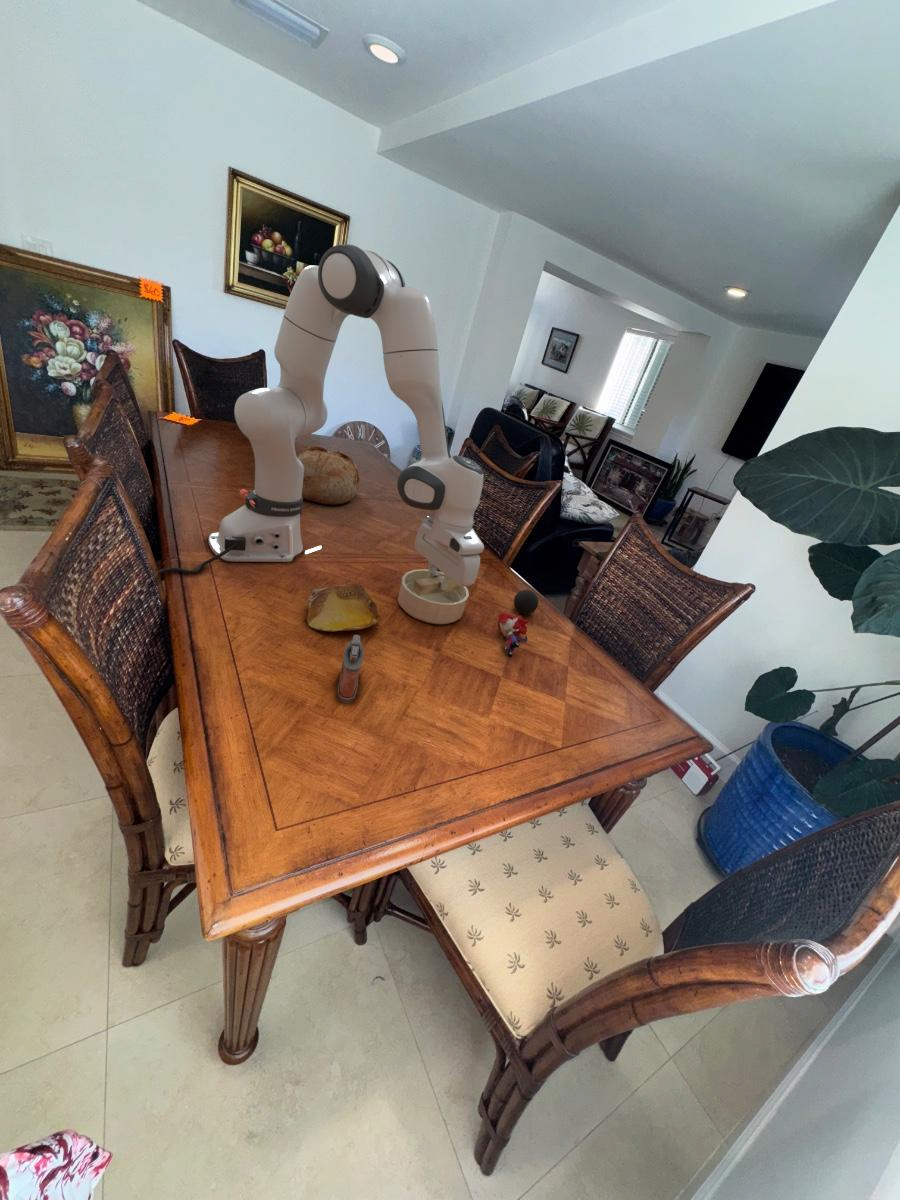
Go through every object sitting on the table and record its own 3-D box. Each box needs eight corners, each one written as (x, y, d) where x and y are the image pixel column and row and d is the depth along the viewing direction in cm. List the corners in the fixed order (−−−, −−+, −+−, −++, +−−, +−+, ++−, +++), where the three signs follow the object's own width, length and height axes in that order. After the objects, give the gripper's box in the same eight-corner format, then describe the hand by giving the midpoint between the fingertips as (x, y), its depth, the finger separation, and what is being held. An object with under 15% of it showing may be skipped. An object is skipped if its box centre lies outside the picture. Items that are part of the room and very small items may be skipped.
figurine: (493, 656, 105) (489, 620, 119) (526, 670, 107) (518, 633, 120) (508, 634, 103) (502, 600, 116) (542, 648, 104) (532, 613, 118)
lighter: (340, 671, 90) (348, 627, 85) (358, 674, 91) (367, 630, 86) (335, 701, 83) (343, 655, 78) (355, 703, 84) (364, 658, 79)
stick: (418, 596, 112) (421, 585, 110) (412, 590, 113) (414, 579, 112) (458, 589, 119) (461, 580, 118) (451, 584, 121) (454, 574, 119)
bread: (347, 513, 157) (354, 468, 150) (275, 496, 155) (279, 449, 148) (361, 489, 180) (368, 450, 173) (299, 474, 178) (303, 433, 171)
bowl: (421, 631, 108) (427, 608, 105) (384, 593, 118) (389, 572, 116) (475, 619, 118) (482, 599, 116) (437, 586, 129) (442, 566, 126)
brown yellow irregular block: (391, 622, 100) (321, 613, 93) (378, 648, 104) (310, 641, 96) (374, 574, 112) (310, 563, 104) (363, 599, 116) (300, 590, 108)
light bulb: (536, 588, 133) (540, 591, 123) (534, 611, 133) (538, 616, 124) (513, 586, 133) (515, 590, 123) (511, 609, 134) (513, 614, 124)
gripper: (414, 513, 113) (403, 565, 120) (467, 552, 100) (452, 607, 107) (435, 512, 117) (423, 562, 124) (489, 549, 104) (473, 603, 111)
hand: (437, 584), depth 115 cm, fingers closed on stick, 3 cm apart
